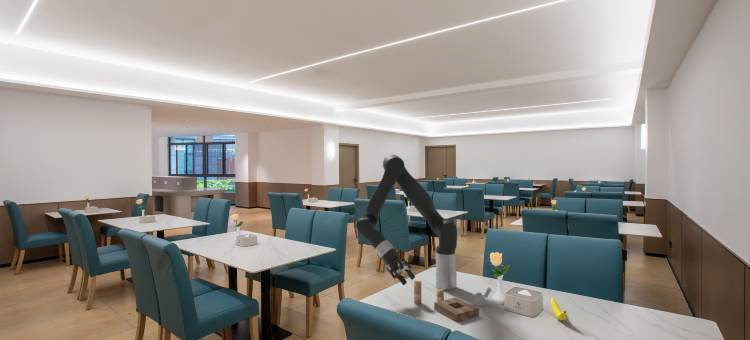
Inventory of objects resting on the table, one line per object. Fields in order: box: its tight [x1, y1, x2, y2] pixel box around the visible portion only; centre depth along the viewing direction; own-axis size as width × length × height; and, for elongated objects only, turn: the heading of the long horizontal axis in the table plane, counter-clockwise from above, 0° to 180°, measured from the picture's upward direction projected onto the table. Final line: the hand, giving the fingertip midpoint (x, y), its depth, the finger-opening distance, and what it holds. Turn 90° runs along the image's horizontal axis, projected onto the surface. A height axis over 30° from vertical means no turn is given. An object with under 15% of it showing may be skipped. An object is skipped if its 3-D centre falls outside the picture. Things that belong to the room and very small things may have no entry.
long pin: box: [413, 279, 422, 305], centre depth 165 cm, size 3×3×10 cm
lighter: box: [473, 287, 492, 307], centre depth 162 cm, size 7×2×8 cm, turn 72°
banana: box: [550, 296, 568, 321], centre depth 149 cm, size 3×19×6 cm, turn 168°
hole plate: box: [433, 297, 480, 323], centre depth 155 cm, size 12×14×3 cm
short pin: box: [436, 288, 445, 302], centre depth 168 cm, size 3×3×4 cm
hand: (409, 281), depth 166 cm, fingers open, 8 cm apart
